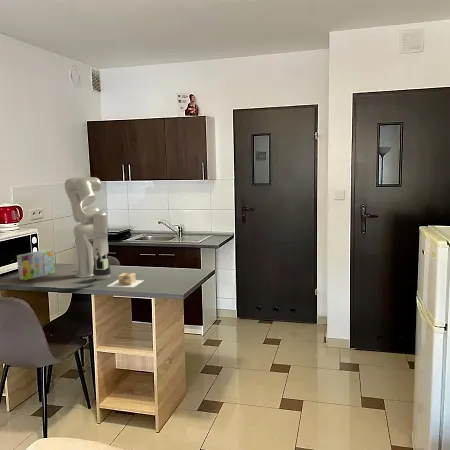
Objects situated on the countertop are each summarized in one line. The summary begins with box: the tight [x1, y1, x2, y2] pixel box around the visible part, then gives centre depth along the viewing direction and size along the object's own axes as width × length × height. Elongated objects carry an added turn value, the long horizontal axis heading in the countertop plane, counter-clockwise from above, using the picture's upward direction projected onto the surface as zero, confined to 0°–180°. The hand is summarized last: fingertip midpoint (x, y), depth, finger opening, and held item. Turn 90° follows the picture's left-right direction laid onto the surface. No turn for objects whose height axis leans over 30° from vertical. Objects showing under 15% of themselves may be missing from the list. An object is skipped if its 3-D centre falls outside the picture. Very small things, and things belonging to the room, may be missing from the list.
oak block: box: [118, 272, 137, 285], centre depth 254 cm, size 7×7×5 cm
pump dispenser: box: [93, 255, 112, 281], centre depth 268 cm, size 10×10×15 cm
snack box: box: [16, 249, 56, 281], centre depth 281 cm, size 21×6×15 cm, turn 145°
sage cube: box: [94, 258, 109, 270], centre depth 254 cm, size 5×5×5 cm
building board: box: [106, 279, 145, 288], centre depth 255 cm, size 16×15×1 cm
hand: (102, 267), depth 254 cm, fingers closed on sage cube, 4 cm apart
